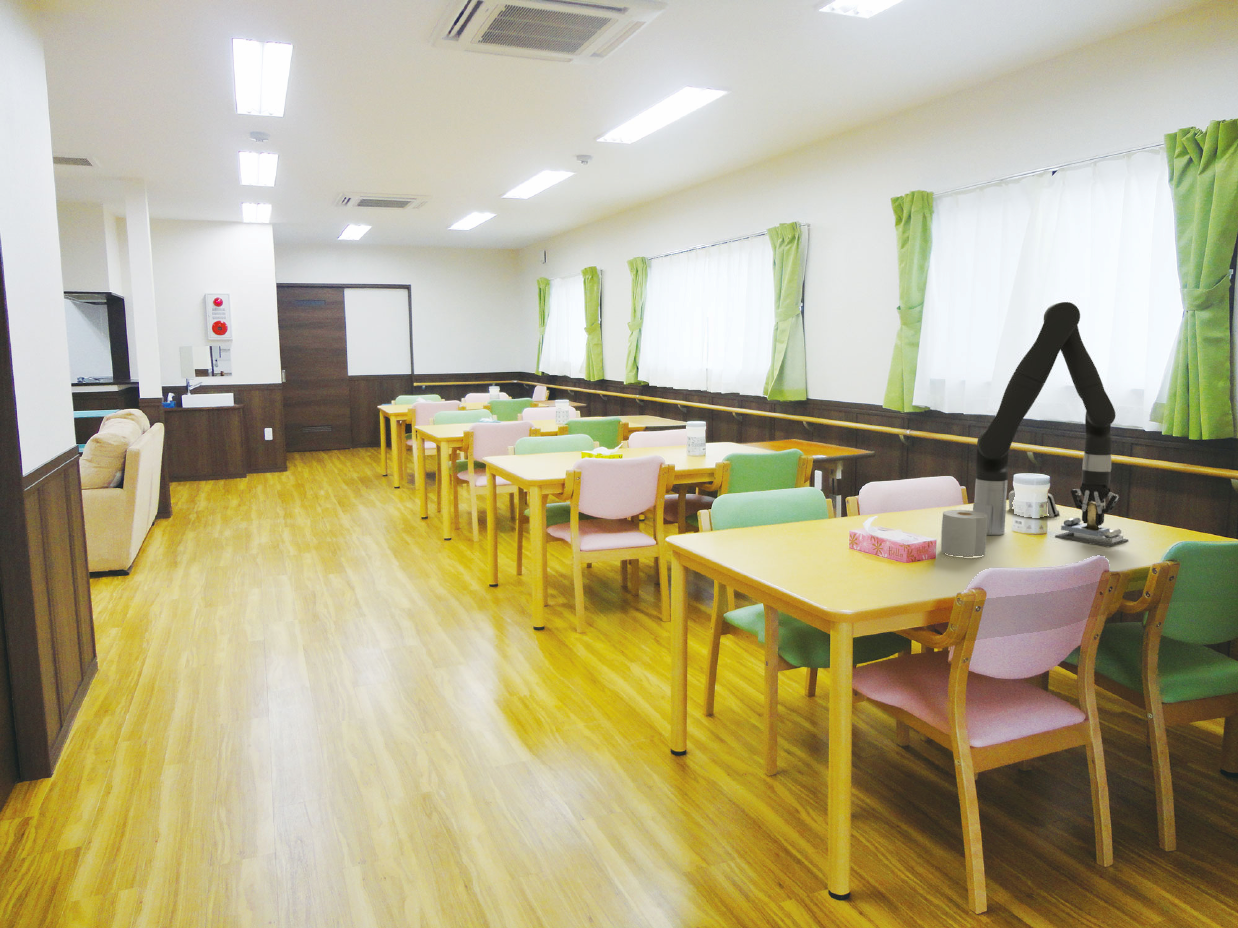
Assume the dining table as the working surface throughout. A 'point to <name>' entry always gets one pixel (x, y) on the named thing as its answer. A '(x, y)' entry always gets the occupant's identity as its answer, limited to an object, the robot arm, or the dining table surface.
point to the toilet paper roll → (963, 533)
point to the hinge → (1051, 504)
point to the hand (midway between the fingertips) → (1092, 523)
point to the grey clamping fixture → (1092, 532)
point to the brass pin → (1092, 516)
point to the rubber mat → (1070, 536)
